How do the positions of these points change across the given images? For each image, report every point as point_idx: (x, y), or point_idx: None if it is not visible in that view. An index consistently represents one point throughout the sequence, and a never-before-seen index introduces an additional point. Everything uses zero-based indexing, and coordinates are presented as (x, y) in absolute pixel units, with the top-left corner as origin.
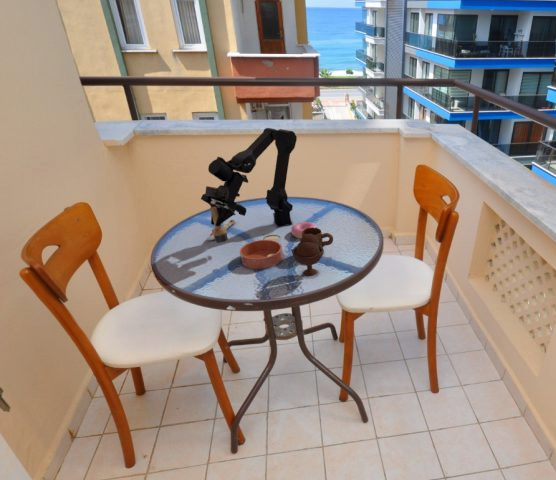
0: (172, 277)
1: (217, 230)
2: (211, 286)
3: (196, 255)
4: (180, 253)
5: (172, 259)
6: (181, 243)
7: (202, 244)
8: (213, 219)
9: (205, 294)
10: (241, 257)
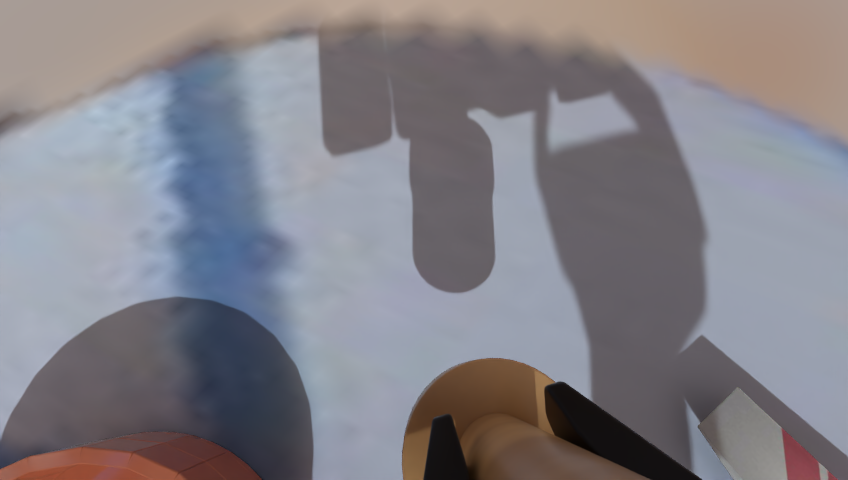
0: (386, 55)
1: (463, 421)
2: (130, 159)
3: (558, 244)
4: (651, 181)
5: (596, 121)
6: (806, 239)
7: (710, 347)
8: (531, 439)
9: (88, 107)
10: (141, 444)
